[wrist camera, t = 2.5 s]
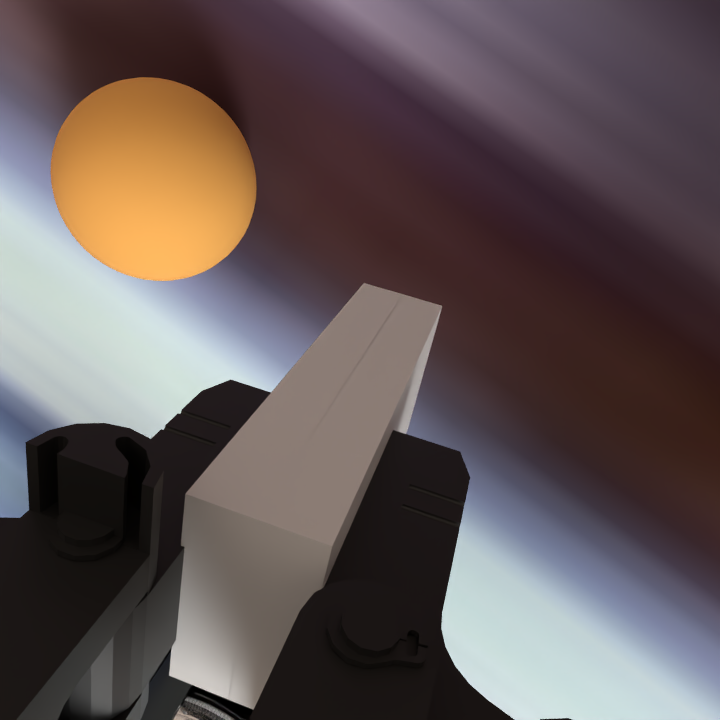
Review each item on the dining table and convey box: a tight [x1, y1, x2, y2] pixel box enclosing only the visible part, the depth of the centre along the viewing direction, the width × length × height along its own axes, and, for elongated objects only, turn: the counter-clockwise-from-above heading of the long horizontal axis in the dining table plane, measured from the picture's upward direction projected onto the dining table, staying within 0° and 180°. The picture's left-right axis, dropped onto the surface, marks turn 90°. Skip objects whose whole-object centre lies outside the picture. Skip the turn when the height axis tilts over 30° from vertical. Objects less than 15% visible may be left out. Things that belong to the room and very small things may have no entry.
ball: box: [51, 77, 257, 281], centre depth 20 cm, size 6×6×6 cm
